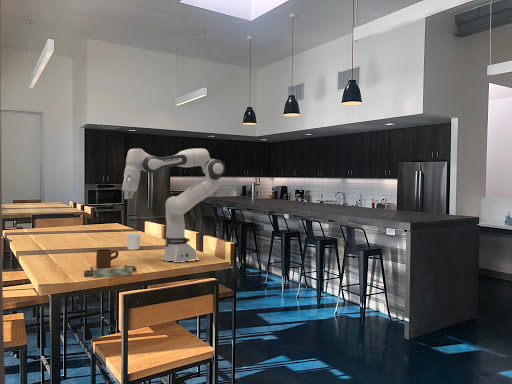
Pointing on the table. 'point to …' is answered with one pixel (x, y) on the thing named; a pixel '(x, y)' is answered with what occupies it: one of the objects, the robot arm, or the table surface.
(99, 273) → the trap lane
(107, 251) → the mug
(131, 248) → the mug
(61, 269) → the table surface
